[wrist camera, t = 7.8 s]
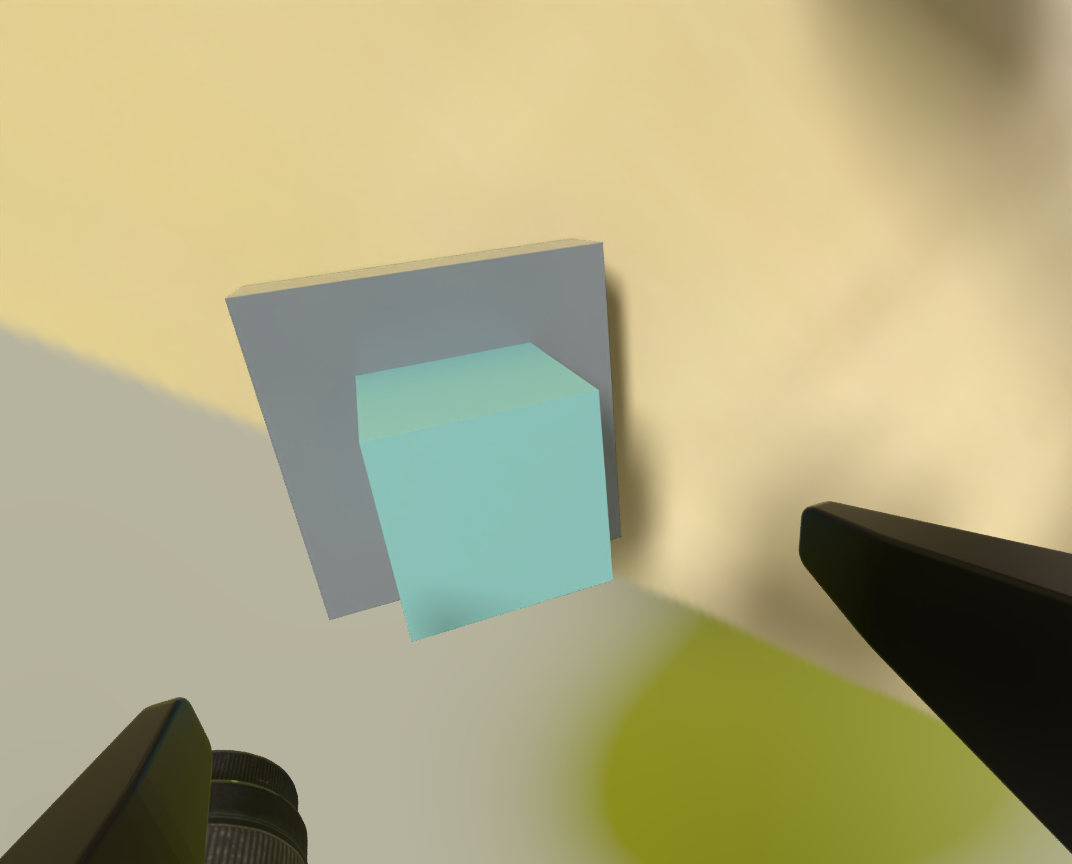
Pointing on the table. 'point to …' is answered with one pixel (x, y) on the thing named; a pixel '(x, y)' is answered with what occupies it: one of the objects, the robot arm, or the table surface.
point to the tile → (392, 342)
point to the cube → (485, 483)
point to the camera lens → (253, 813)
